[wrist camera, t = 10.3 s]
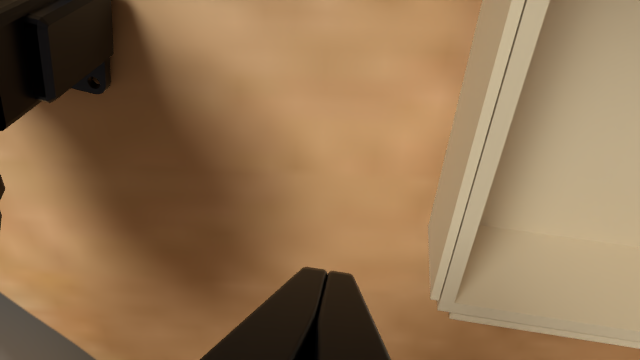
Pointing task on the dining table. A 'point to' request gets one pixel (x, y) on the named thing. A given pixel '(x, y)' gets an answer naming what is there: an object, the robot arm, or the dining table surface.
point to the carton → (544, 174)
